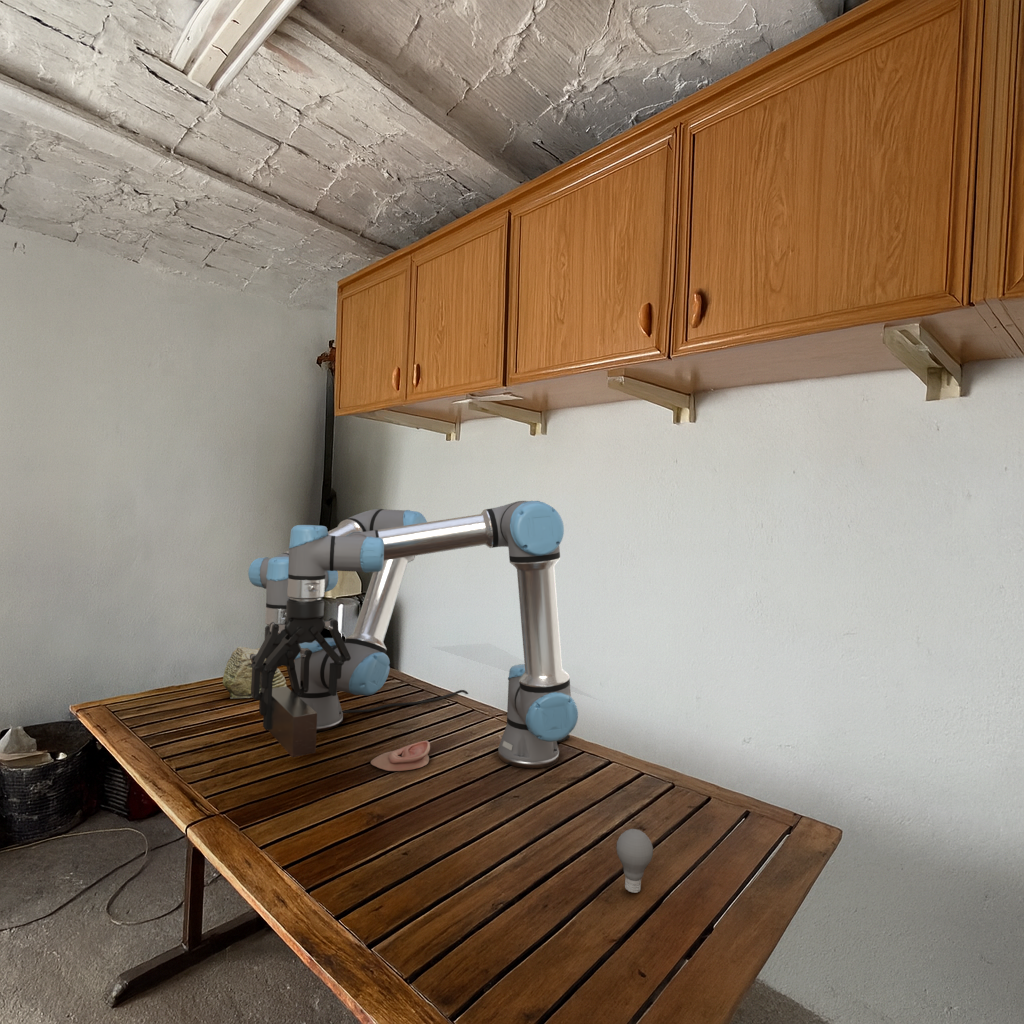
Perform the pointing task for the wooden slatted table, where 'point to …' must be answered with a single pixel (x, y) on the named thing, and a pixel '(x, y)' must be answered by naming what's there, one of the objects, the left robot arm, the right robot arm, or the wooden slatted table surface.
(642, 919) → the wooden slatted table surface
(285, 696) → the bar
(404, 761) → the anatomical model
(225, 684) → the fossil
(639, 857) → the light bulb
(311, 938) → the wooden slatted table surface
